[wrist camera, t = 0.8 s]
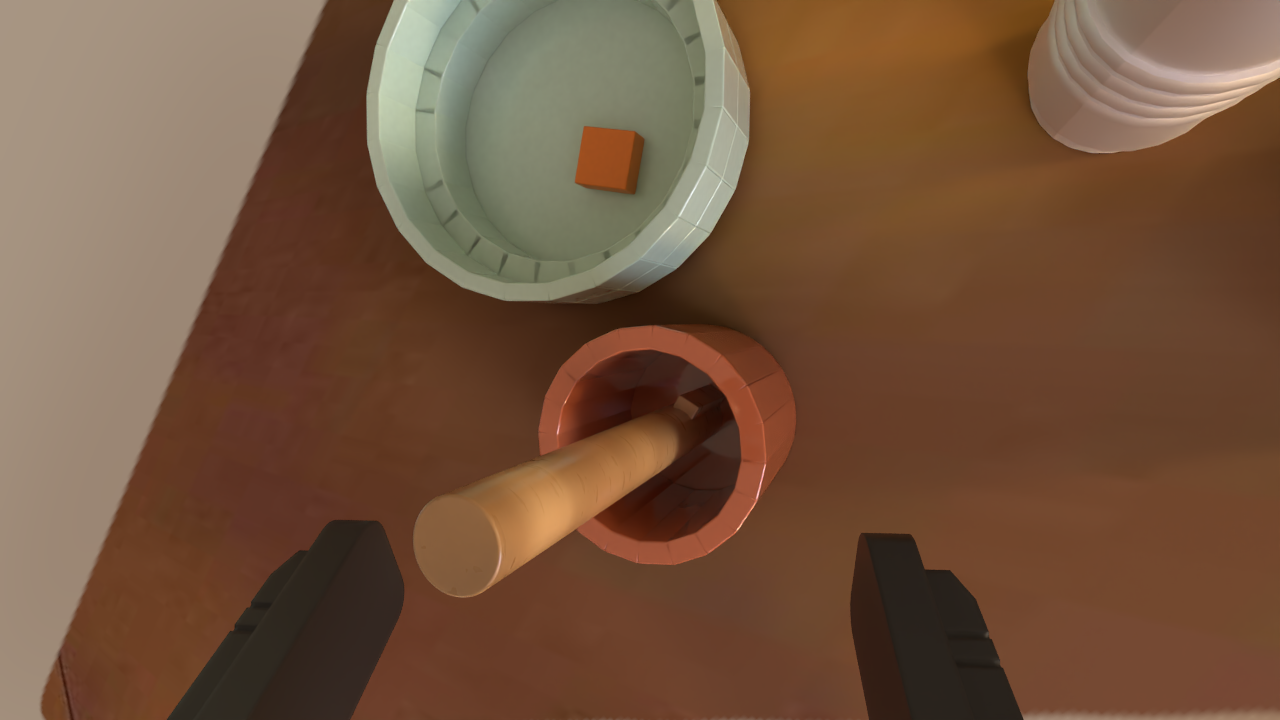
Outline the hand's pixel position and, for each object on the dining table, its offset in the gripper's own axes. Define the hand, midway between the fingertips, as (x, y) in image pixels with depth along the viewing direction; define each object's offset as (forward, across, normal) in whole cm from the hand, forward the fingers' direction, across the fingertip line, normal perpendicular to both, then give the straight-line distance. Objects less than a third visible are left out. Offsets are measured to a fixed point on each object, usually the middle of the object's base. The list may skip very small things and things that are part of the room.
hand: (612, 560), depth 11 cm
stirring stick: (+19, -1, +11) cm, 22 cm away
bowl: (+28, +5, -1) cm, 28 cm away
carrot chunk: (+26, +3, 0) cm, 26 cm away
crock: (+20, -1, +11) cm, 23 cm away
